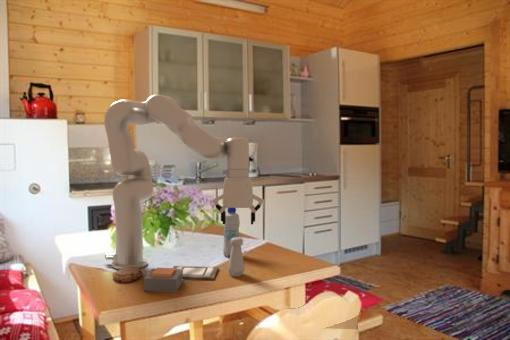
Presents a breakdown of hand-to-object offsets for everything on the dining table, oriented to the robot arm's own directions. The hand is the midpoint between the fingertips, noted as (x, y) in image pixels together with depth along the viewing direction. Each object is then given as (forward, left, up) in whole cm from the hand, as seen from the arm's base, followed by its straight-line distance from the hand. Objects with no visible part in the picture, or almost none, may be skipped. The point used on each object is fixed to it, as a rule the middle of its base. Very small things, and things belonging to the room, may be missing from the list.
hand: (238, 223), depth 149 cm
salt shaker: (0, 0, -18) cm, 18 cm away
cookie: (-36, -6, -19) cm, 41 cm away
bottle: (-4, +24, -18) cm, 31 cm away
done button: (-22, -13, -16) cm, 30 cm away
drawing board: (-15, 0, -18) cm, 24 cm away
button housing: (-22, -13, -18) cm, 32 cm away
